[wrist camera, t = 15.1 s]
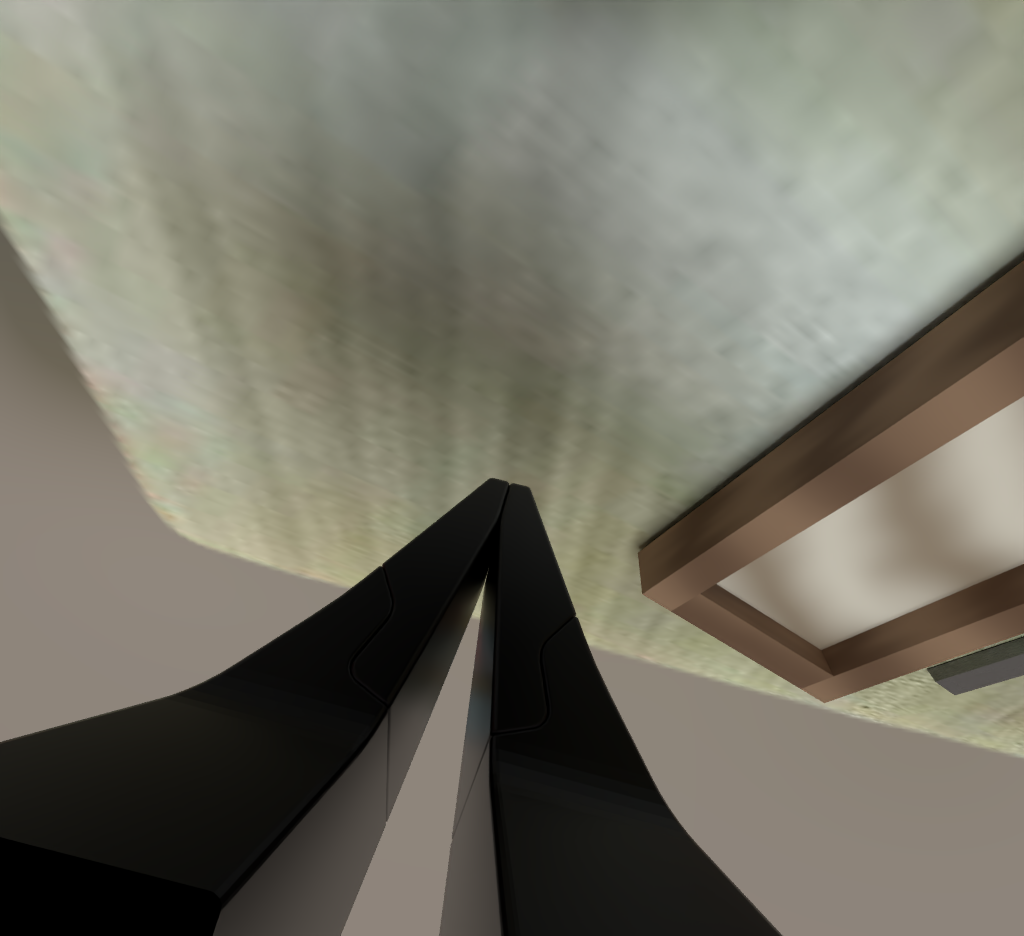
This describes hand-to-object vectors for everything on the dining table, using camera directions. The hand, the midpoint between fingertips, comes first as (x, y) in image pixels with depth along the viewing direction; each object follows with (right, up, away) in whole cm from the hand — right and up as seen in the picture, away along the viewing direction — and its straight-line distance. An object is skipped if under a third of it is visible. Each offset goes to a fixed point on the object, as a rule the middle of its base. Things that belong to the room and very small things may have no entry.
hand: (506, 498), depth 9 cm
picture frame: (+20, -2, +11) cm, 23 cm away
